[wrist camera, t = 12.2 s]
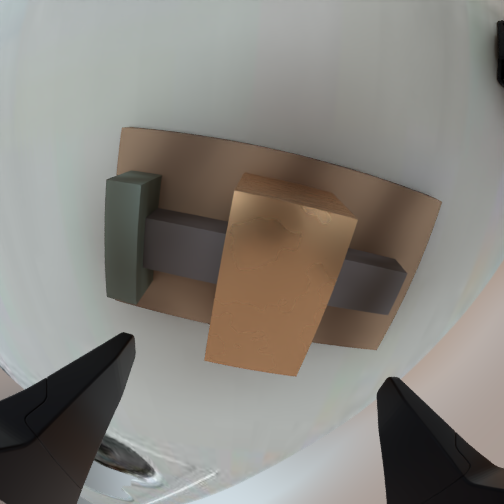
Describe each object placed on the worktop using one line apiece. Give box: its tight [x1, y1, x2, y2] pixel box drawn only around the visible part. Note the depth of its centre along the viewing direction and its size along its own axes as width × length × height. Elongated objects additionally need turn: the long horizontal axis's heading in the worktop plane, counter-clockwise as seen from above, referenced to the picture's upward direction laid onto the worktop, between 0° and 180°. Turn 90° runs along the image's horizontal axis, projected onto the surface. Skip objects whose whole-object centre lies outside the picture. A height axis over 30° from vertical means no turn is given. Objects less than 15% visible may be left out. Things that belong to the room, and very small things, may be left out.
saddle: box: [204, 172, 358, 376], centre depth 15 cm, size 5×9×5 cm, turn 168°
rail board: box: [105, 127, 442, 350], centre depth 17 cm, size 20×12×4 cm, turn 78°
